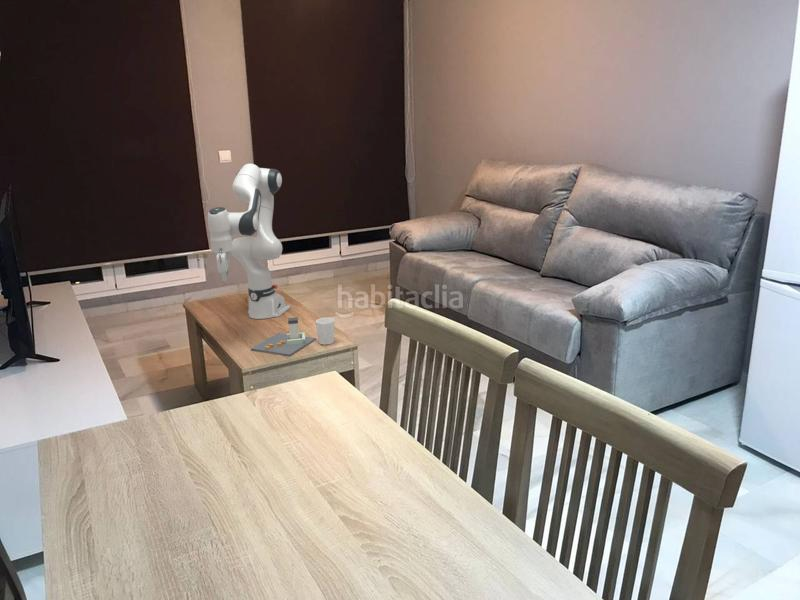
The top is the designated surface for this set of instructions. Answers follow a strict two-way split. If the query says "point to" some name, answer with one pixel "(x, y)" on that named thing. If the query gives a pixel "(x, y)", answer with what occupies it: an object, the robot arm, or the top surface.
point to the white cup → (325, 330)
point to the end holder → (296, 341)
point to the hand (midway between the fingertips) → (225, 278)
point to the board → (280, 345)
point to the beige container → (293, 328)
